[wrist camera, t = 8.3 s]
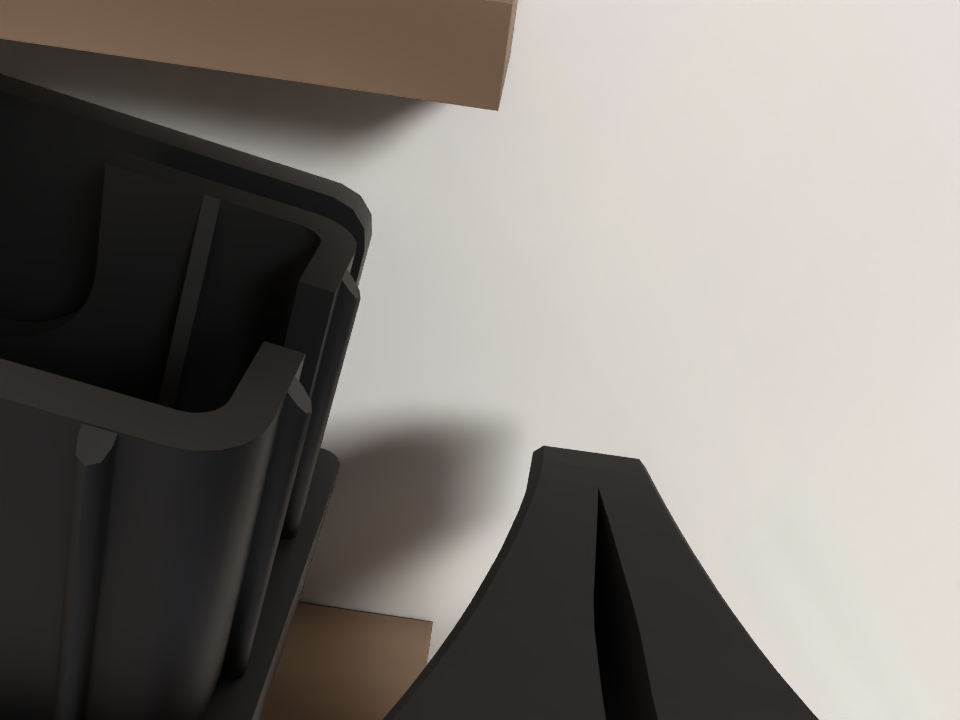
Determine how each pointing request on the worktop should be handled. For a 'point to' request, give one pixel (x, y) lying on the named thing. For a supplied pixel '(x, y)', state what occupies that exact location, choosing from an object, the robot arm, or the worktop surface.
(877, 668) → the worktop surface
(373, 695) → the wooden u-shaped frame
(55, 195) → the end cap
